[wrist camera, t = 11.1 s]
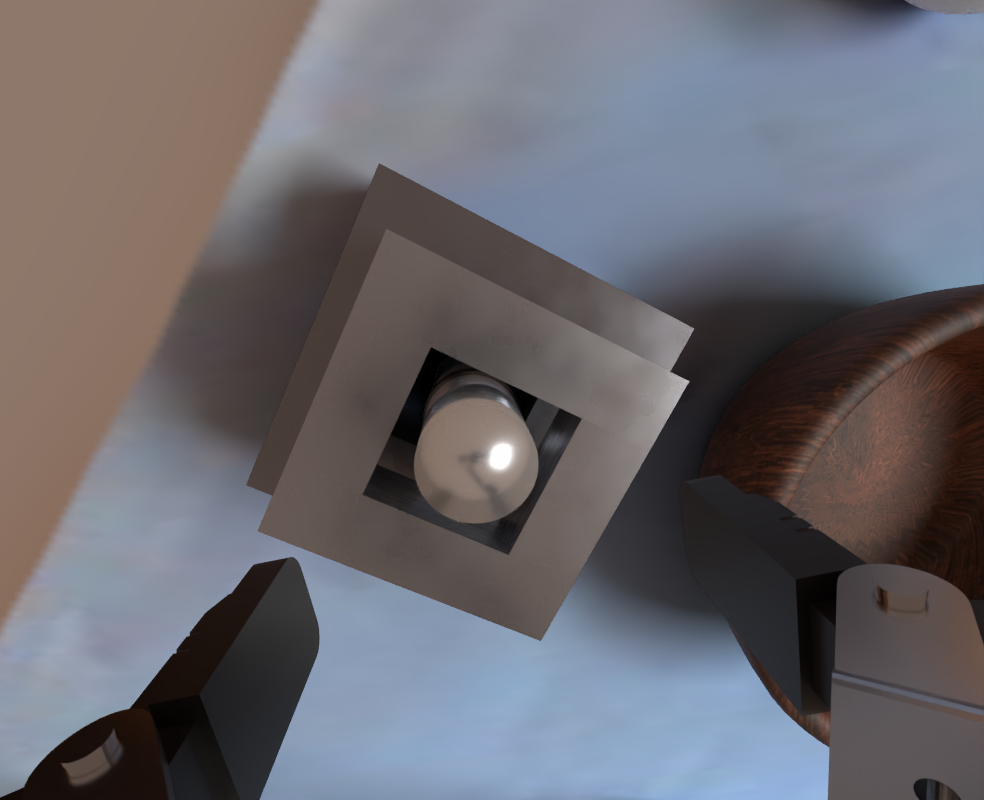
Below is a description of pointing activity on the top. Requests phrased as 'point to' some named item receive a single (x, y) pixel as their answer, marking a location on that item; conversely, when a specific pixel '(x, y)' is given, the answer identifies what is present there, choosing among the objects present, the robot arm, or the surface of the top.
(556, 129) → the top surface
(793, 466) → the wooden bowl
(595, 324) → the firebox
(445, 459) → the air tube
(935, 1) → the lidded bowl
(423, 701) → the top surface
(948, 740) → the robot arm
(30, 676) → the top surface
